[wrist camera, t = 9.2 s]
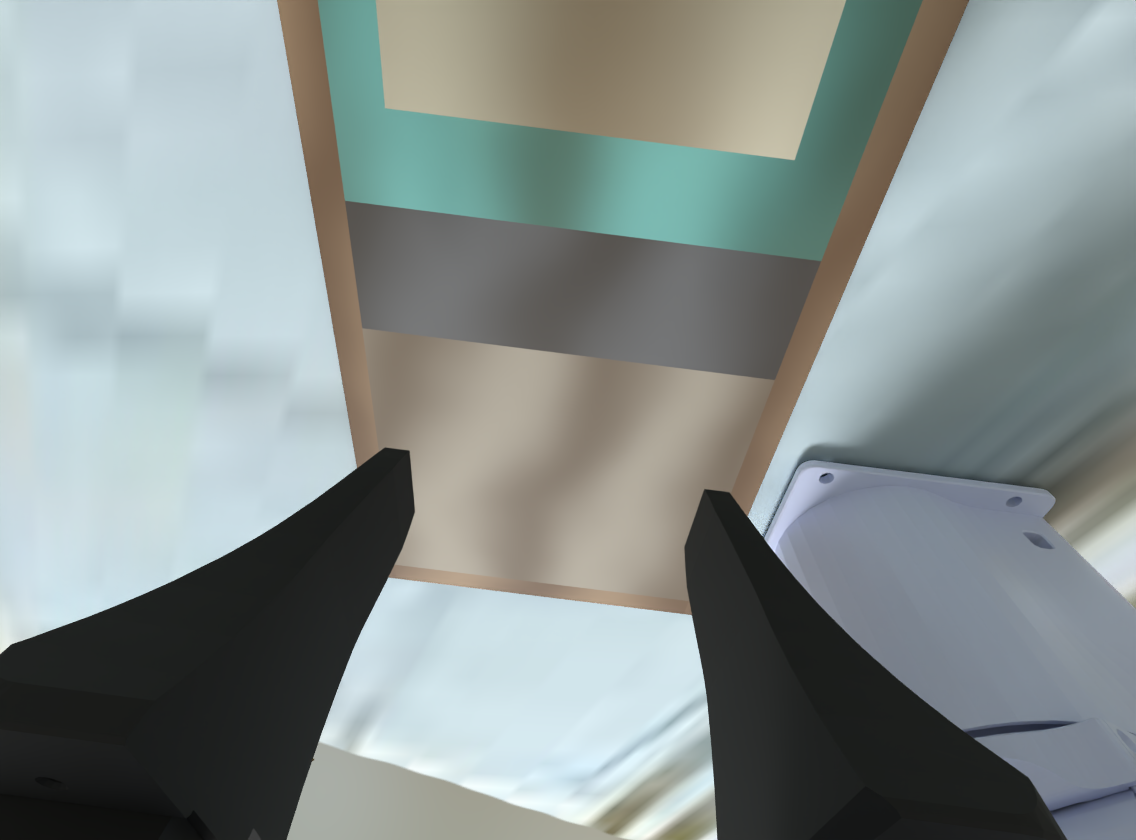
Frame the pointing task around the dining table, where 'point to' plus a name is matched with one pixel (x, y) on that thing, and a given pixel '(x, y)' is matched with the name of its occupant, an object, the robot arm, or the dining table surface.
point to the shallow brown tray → (585, 302)
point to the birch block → (615, 66)
